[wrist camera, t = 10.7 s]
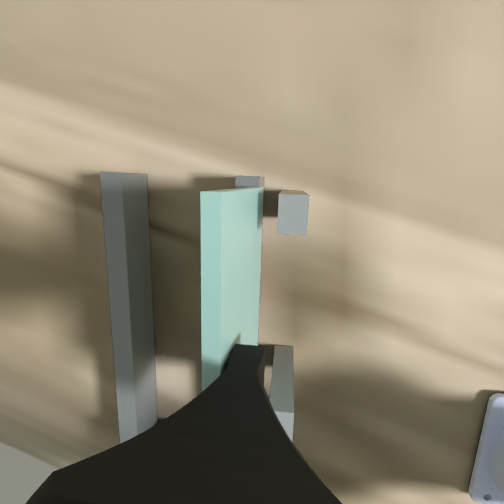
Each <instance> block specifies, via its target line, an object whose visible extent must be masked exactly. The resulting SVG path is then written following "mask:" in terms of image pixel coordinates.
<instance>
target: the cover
mask: <svg viewBox="0 0 504 504" xmlns="http://www.w3.org/2000/svg"><path fill="white" fill-rule="evenodd" d="M263 188H264V187H247V188H235V189H223V190H212V191H200V205H201V351H202V392H203V391H204V390H205V389H206V388H207V387H208V386H209V385H210V384H211V383H212V382H213V381H215V380H216V379H217V378H218V377H219V376H220V375H221V374H222V373H223V371H224V370H225V369H226V368H227V365H228V361H229V356H230V352H231V350H232V349H233V347H234V346H235V344H244V345H256V346H258V324H259V297H260V270H261V243H262V216H263Z"/></svg>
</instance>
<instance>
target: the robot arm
mask: <svg viewBox="0 0 504 504" xmlns="http://www.w3.org/2000/svg"><path fill="white" fill-rule="evenodd" d="M265 347H266V346H256V345H244V344H235V346H234V347H233V349H232V350H231V352H230V356H229V361H228V365H227V368H226V369H225V370H224V371H223V373H222V374H221V375H220V376H219V377H218V378H217V379H216V380H215V381H213V382H212V383H211V384H210V385H209V386H208V387H207V388H206V389H205V390H204V391H203V392H201V393H200V394H199V395H198V396H197V397H196V398H194V399H193V400H192V401H191V402H189V403H188V404H187V405H185V406H184V407H183V408H181V409H180V410H178V411H177V412H176V413H174V414H172V415H171V416H169V417H167V418H166V419H164V420H163V421H161V422H159V423H158V424H156V425H154V426H153V427H151V428H150V429H148V430H146V431H144V432H142V433H140V434H139V435H137V436H135V437H133V438H131V439H129V440H127V441H125V442H123V443H121V444H119V445H117V446H115V447H113V448H110V449H108V450H106V451H104V452H101V453H99V454H97V455H94V456H92V457H89V458H87V459H84V460H82V461H79V462H77V463H74V464H72V465H69V466H67V467H65V468H62V469H59V470H56V471H54V472H53V473H52V474H51V475H50V476H49V477H48V478H47V479H46V480H45V482H44V483H43V484H42V485H41V486H40V487H39V488H38V489H37V491H35V493H34V494H33V495H32V496H31V497H30V499H29V500H28V501H27V503H26V504H342V503H341V502H340V501H339V500H338V499H337V498H336V497H335V496H334V495H333V494H332V493H331V491H330V490H329V489H328V488H327V487H326V486H325V485H324V484H323V483H322V481H321V480H320V479H319V478H318V476H317V475H316V474H315V473H314V471H313V470H312V469H311V468H310V467H309V465H308V464H307V462H306V461H305V460H304V458H303V457H302V455H301V454H300V453H299V451H298V450H297V448H296V447H295V445H294V444H293V443H292V441H291V440H290V438H289V437H288V435H287V433H286V431H285V430H284V428H283V426H282V425H281V423H280V421H279V419H278V417H277V415H276V414H275V412H274V409H273V407H272V405H271V403H270V401H269V398H268V396H267V394H266V391H265V388H264V369H265ZM468 492H469V495H470V496H471V498H472V500H474V501H476V502H481V503H488V504H504V394H501V393H496V394H493V395H492V396H491V397H490V398H489V402H488V406H487V410H486V415H485V419H484V424H483V428H482V433H481V437H480V441H479V446H478V450H477V455H476V459H475V464H474V468H473V473H472V477H471V481H470V486H469V490H468Z"/></svg>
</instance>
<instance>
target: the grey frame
mask: <svg viewBox="0 0 504 504" xmlns="http://www.w3.org/2000/svg"><path fill="white" fill-rule="evenodd" d="M100 183H101V196H102V209H103V223H104V236H105V249H106V262H107V276H108V289H109V302H110V315H111V329H112V342H113V355H114V368H115V382H116V395H117V408H118V421H119V435H120V444H121V443H123V442H125V441H127V440H129V439H131V438H133V437H135V436H137V435H139V434H140V433H142V432H144V431H146V430H148V429H150V428H151V427H153V426H154V425H156V424H158V416H157V393H156V370H155V347H154V324H153V301H152V277H151V254H150V231H149V208H148V185H147V174H134V173H112V172H100ZM247 187H264V177H253V176H235V188H247ZM263 198H264V188H263ZM308 206H309V195H308V194H307V193H305V192H304V191H286V190H282V191H281V192H280V193H279V201H278V222H277V234H294V235H307V221H308ZM262 225H263V216H262ZM261 252H262V243H261ZM260 279H261V270H260ZM259 306H260V297H259ZM258 333H259V324H258ZM269 401H270V403H271V405H272V407H273V409H274V412H275V414H276V415H277V417H278V419H279V421H280V423H281V425H282V426H283V428H284V430H285V431H286V433H287V435H288V437H289V438H290V440H291V441H292V439H293V425H294V370H293V347H292V346H280V345H275V347H274V358H273V369H272V379H271V390H270V400H269Z"/></svg>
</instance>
